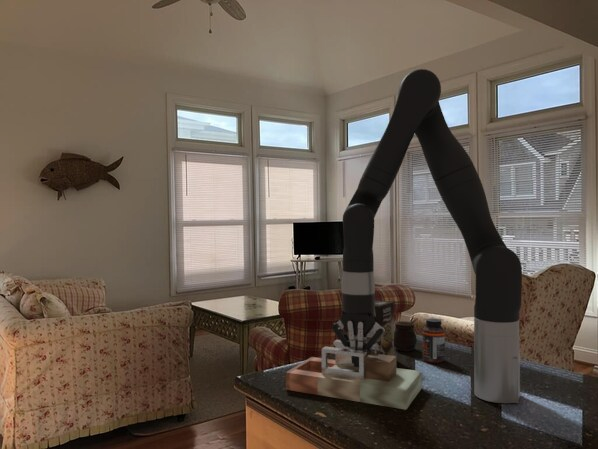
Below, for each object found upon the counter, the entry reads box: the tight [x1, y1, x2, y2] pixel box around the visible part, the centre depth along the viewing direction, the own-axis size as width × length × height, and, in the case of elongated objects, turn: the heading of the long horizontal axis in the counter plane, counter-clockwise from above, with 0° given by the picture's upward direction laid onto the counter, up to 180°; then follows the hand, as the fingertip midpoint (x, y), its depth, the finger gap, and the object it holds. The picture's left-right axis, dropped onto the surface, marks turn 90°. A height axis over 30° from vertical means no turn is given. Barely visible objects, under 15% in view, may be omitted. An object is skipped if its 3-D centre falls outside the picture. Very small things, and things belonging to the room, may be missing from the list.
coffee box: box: [366, 300, 395, 356], centre depth 137 cm, size 9×6×16 cm
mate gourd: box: [394, 317, 418, 352], centre depth 149 cm, size 7×8×10 cm
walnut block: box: [365, 353, 397, 382], centre depth 112 cm, size 6×6×4 cm
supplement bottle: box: [422, 318, 446, 364], centre depth 137 cm, size 6×6×11 cm
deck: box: [285, 356, 422, 411], centre depth 115 cm, size 28×14×4 cm, turn 64°
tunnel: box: [321, 339, 376, 380], centre depth 115 cm, size 10×9×6 cm
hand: (358, 366), depth 114 cm, fingers closed
